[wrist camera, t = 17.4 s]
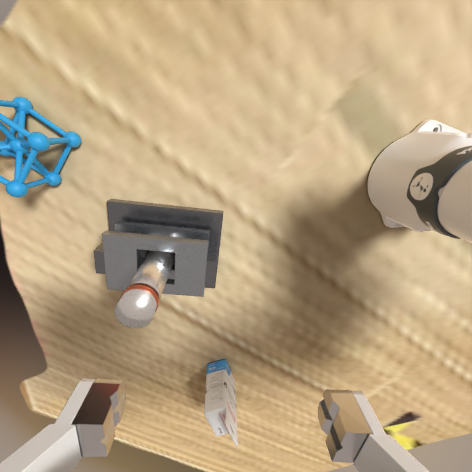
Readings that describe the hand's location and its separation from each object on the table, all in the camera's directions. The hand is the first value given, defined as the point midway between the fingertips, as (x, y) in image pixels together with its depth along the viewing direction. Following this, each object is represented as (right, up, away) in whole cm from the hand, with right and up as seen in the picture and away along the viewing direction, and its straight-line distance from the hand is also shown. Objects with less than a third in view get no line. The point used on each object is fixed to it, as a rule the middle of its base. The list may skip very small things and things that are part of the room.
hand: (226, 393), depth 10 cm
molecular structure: (-31, +21, +30) cm, 48 cm away
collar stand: (-13, +5, +38) cm, 40 cm away
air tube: (-13, +4, +36) cm, 39 cm away
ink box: (-3, -28, +52) cm, 59 cm away
